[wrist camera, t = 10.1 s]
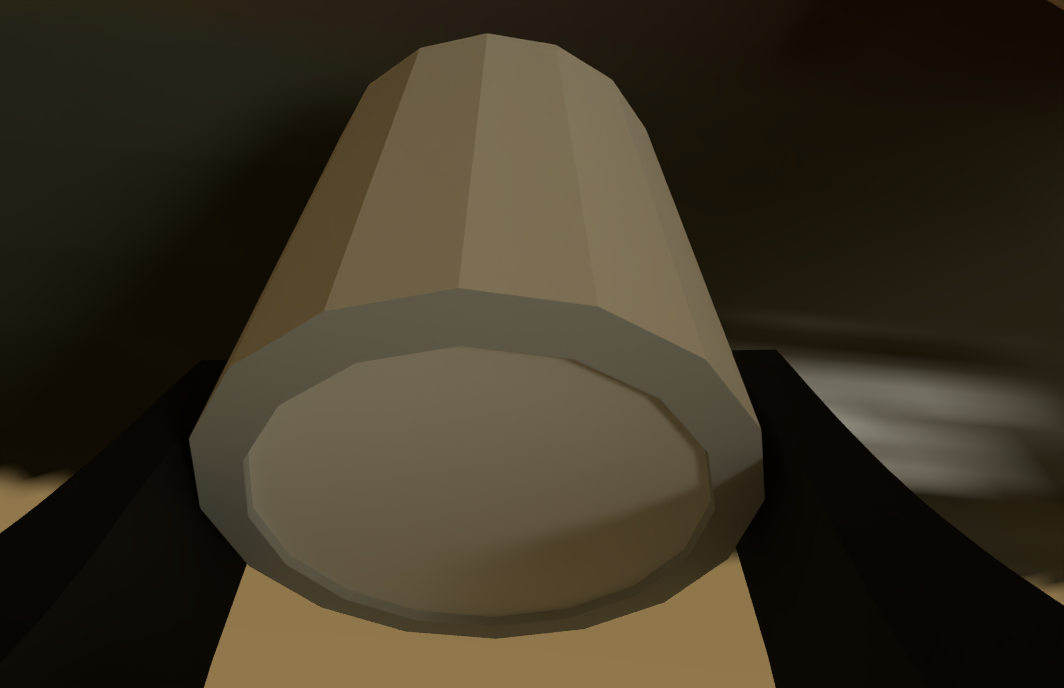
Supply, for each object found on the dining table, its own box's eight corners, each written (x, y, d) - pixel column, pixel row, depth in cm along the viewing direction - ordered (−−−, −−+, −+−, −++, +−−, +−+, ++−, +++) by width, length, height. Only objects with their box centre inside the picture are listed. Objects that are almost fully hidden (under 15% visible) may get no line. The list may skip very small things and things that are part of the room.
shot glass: (767, 180, 15) (886, 506, 10) (507, 373, 19) (500, 688, 14) (479, -109, 12) (442, 164, 7) (226, 191, 15) (80, 519, 10)
